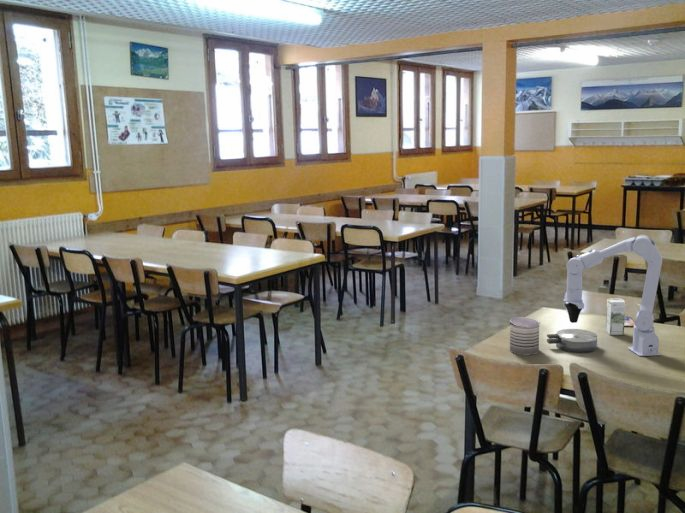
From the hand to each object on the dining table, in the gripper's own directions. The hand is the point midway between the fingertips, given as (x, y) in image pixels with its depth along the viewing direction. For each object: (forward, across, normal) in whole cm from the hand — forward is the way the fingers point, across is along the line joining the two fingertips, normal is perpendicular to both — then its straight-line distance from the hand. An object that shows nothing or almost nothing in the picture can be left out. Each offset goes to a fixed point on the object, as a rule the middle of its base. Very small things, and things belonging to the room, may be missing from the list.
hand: (573, 321), depth 257 cm
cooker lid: (+5, +3, -2) cm, 6 cm away
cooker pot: (+9, +4, -2) cm, 10 cm away
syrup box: (+9, -10, +22) cm, 26 cm away
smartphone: (+10, -26, +34) cm, 44 cm away
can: (+9, +4, -21) cm, 23 cm away
